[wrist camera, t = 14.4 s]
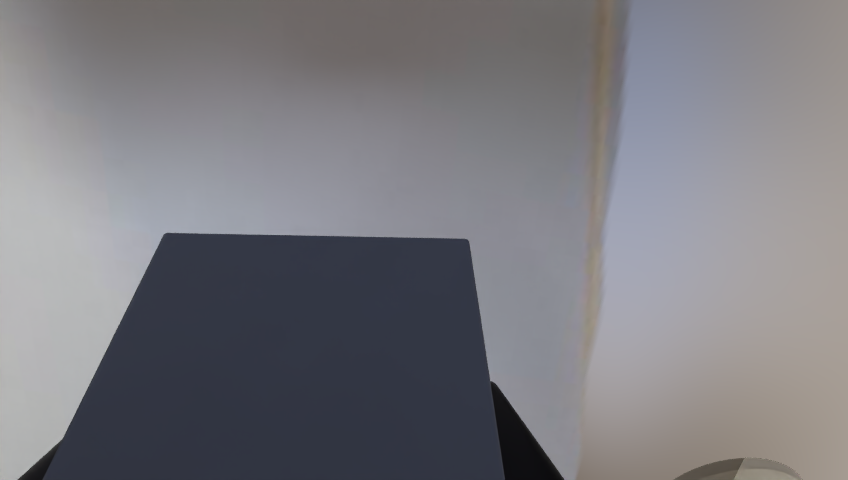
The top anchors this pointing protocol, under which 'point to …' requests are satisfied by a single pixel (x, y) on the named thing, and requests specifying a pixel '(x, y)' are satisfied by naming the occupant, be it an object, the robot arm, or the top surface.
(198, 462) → the block
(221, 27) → the top surface
